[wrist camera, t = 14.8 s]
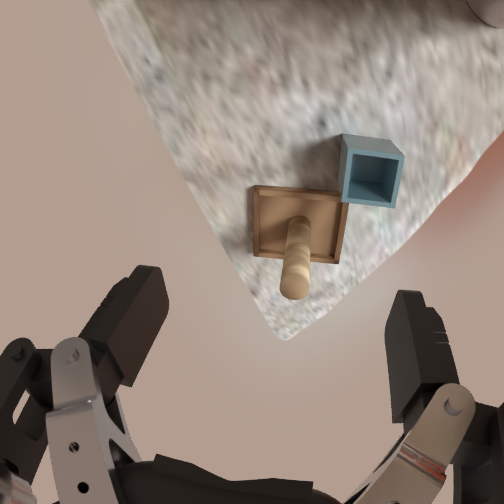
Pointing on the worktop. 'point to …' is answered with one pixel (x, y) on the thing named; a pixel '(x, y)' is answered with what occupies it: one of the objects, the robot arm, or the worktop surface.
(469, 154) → the worktop surface
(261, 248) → the tray
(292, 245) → the dowel
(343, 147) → the blue open box
